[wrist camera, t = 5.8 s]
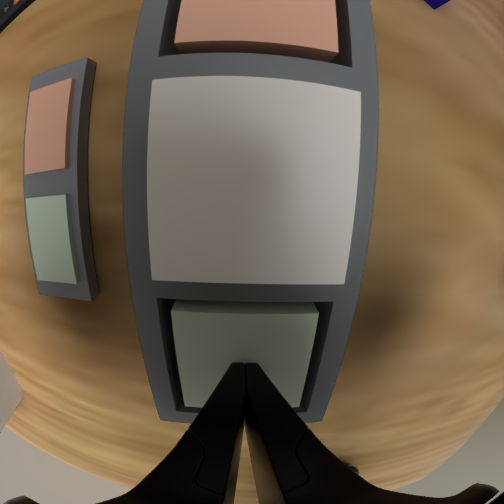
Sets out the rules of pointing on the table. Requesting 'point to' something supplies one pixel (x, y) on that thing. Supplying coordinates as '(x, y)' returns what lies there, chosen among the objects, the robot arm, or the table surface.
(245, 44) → the terracotta key
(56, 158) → the strip
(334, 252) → the cream key
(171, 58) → the keypad
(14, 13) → the calculator
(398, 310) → the table surface
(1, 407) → the cylinder with rectangular tab
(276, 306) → the sage key
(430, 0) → the cable clip
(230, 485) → the robot arm
